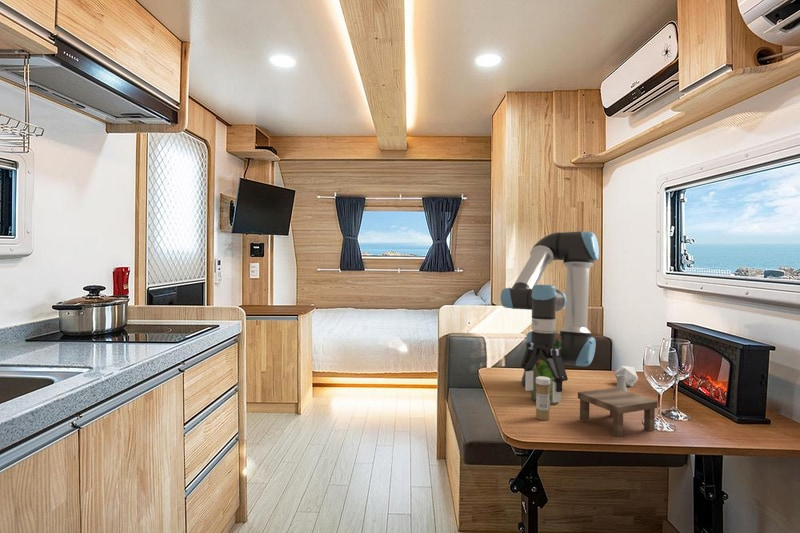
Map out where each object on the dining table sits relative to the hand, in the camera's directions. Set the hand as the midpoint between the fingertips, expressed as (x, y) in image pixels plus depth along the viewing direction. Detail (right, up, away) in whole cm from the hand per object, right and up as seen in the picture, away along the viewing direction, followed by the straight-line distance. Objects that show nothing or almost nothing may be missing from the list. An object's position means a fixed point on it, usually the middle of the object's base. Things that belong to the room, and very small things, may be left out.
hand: (542, 395), depth 143 cm
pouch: (+7, -8, +18) cm, 21 cm away
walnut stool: (+22, -8, -5) cm, 24 cm away
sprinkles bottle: (0, -8, 0) cm, 8 cm away
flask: (+35, -8, +17) cm, 39 cm away
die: (+49, -8, +41) cm, 64 cm away
